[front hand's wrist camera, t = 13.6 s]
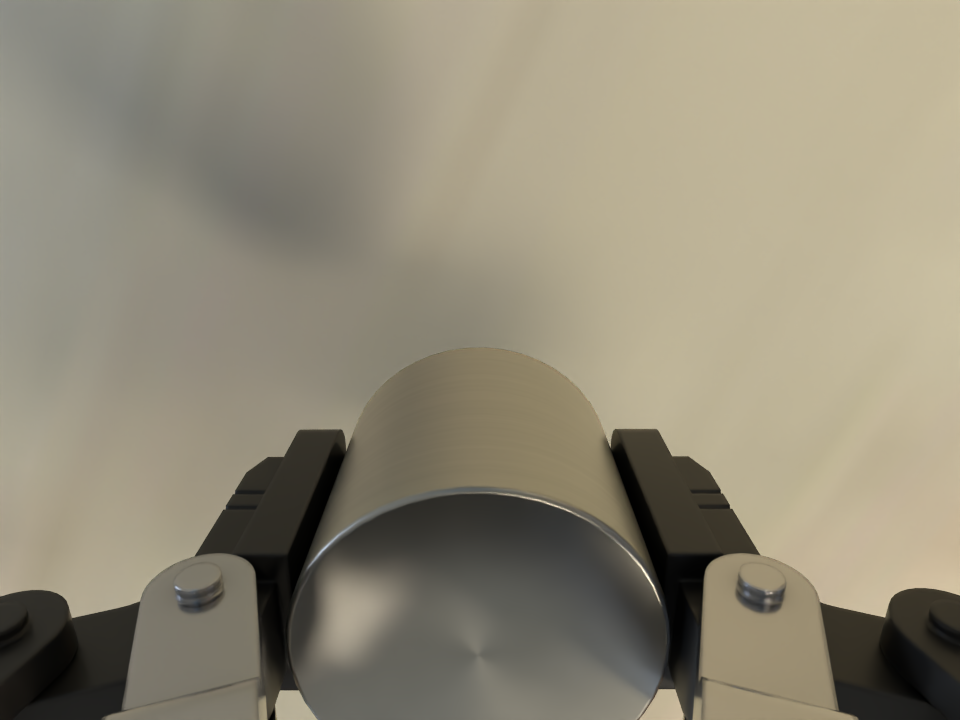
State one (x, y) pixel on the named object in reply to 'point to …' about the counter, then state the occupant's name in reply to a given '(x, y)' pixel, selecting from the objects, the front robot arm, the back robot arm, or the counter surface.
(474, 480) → the can
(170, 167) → the counter surface
